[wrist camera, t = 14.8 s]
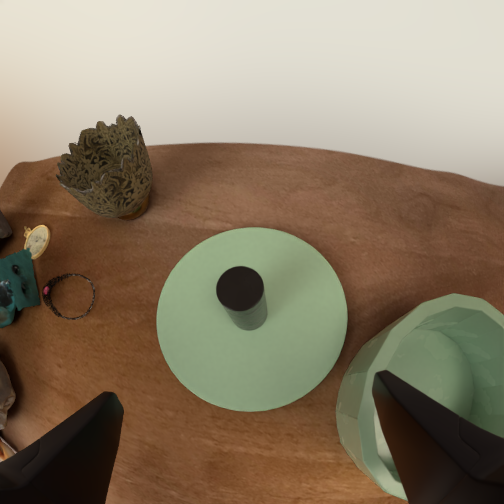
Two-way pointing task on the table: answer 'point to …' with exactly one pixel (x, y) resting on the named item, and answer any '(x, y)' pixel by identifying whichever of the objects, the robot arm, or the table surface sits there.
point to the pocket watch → (37, 240)
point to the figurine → (16, 285)
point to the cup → (109, 170)
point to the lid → (252, 319)
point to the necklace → (54, 286)
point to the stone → (5, 395)
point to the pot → (425, 376)
